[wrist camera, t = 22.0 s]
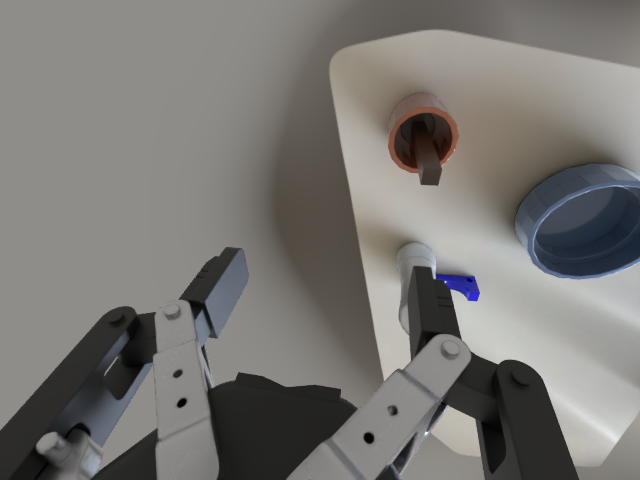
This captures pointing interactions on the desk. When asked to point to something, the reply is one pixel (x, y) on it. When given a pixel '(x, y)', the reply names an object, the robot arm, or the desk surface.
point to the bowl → (582, 222)
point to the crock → (441, 138)
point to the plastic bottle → (405, 262)
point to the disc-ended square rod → (423, 146)
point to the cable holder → (462, 285)
